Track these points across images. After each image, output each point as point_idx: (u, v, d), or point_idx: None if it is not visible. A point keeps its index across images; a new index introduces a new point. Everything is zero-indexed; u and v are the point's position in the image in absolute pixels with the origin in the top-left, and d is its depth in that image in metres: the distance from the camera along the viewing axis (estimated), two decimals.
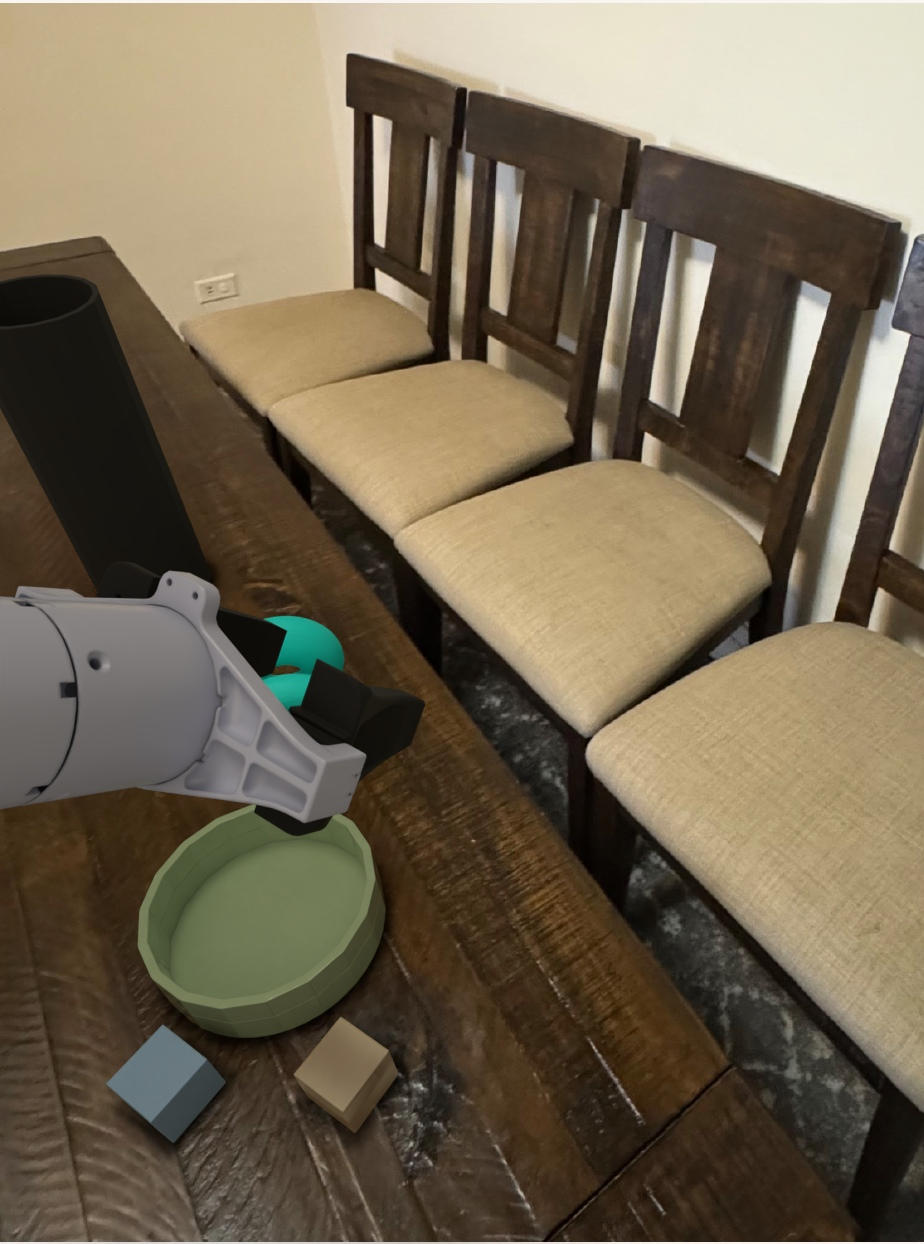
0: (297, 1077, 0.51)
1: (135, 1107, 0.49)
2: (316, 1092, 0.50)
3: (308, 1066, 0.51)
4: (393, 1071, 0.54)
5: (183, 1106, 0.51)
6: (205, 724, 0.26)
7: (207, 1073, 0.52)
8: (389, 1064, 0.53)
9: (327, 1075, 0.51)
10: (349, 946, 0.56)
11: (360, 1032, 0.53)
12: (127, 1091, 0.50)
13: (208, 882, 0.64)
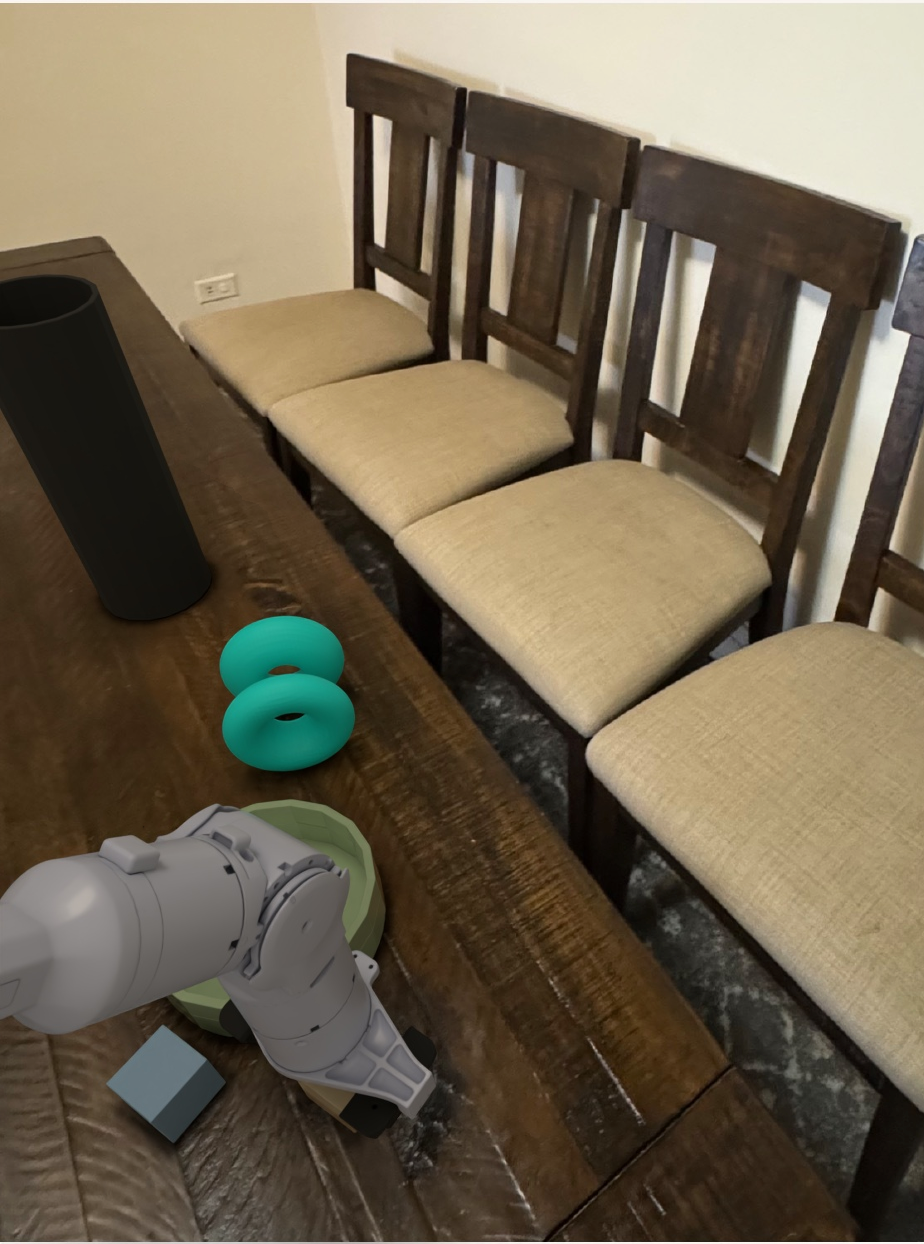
0: None
1: (135, 1107, 0.49)
2: (316, 1092, 0.50)
3: None
4: None
5: (183, 1106, 0.51)
6: (358, 1038, 0.46)
7: (207, 1073, 0.52)
8: None
9: None
10: None
11: None
12: (127, 1091, 0.50)
13: None
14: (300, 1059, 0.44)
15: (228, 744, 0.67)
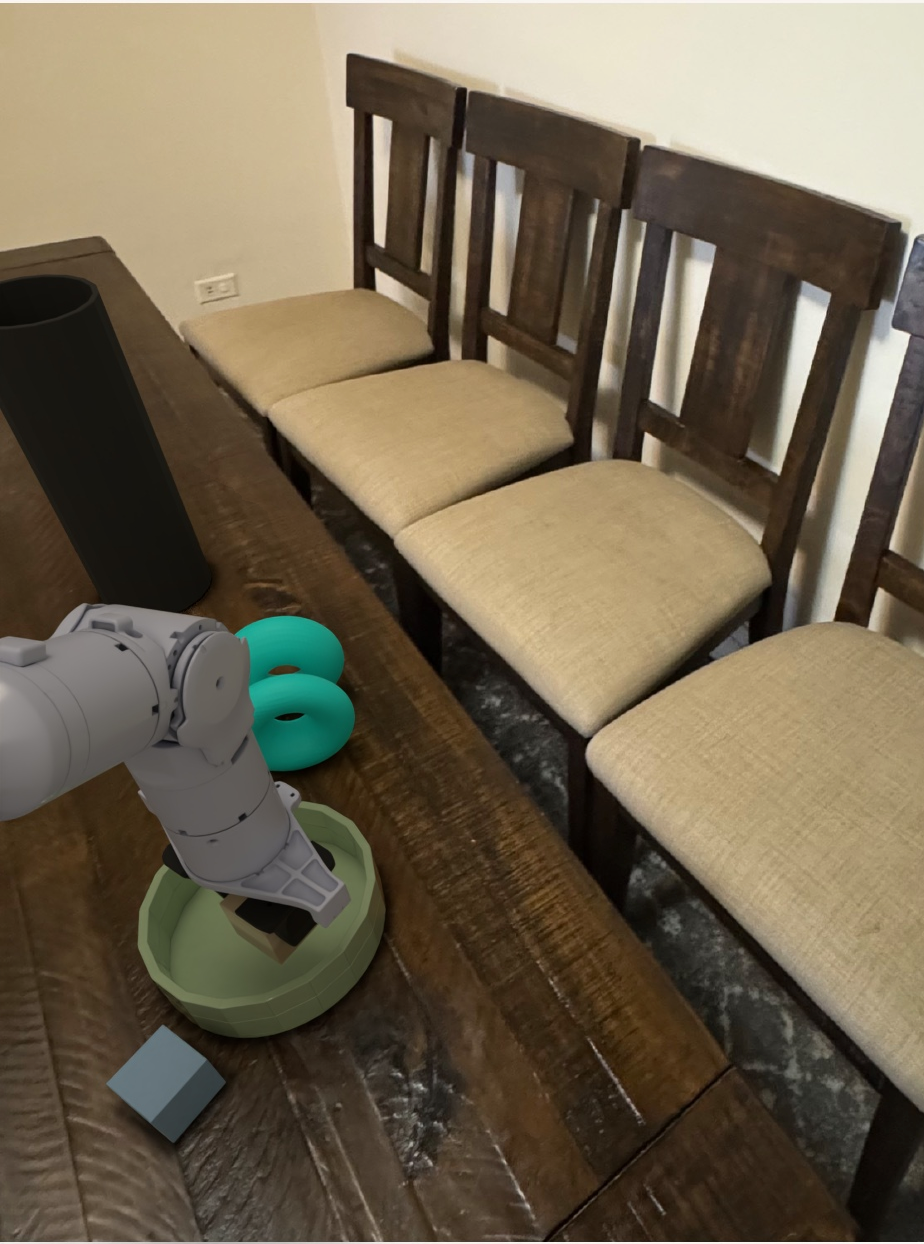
0: (223, 906, 0.52)
1: (135, 1107, 0.49)
2: (240, 919, 0.52)
3: (234, 896, 0.53)
4: None
5: (183, 1106, 0.51)
6: (274, 853, 0.47)
7: (207, 1073, 0.52)
8: None
9: None
10: (349, 946, 0.56)
11: None
12: (127, 1091, 0.50)
13: None
14: (214, 864, 0.45)
15: None
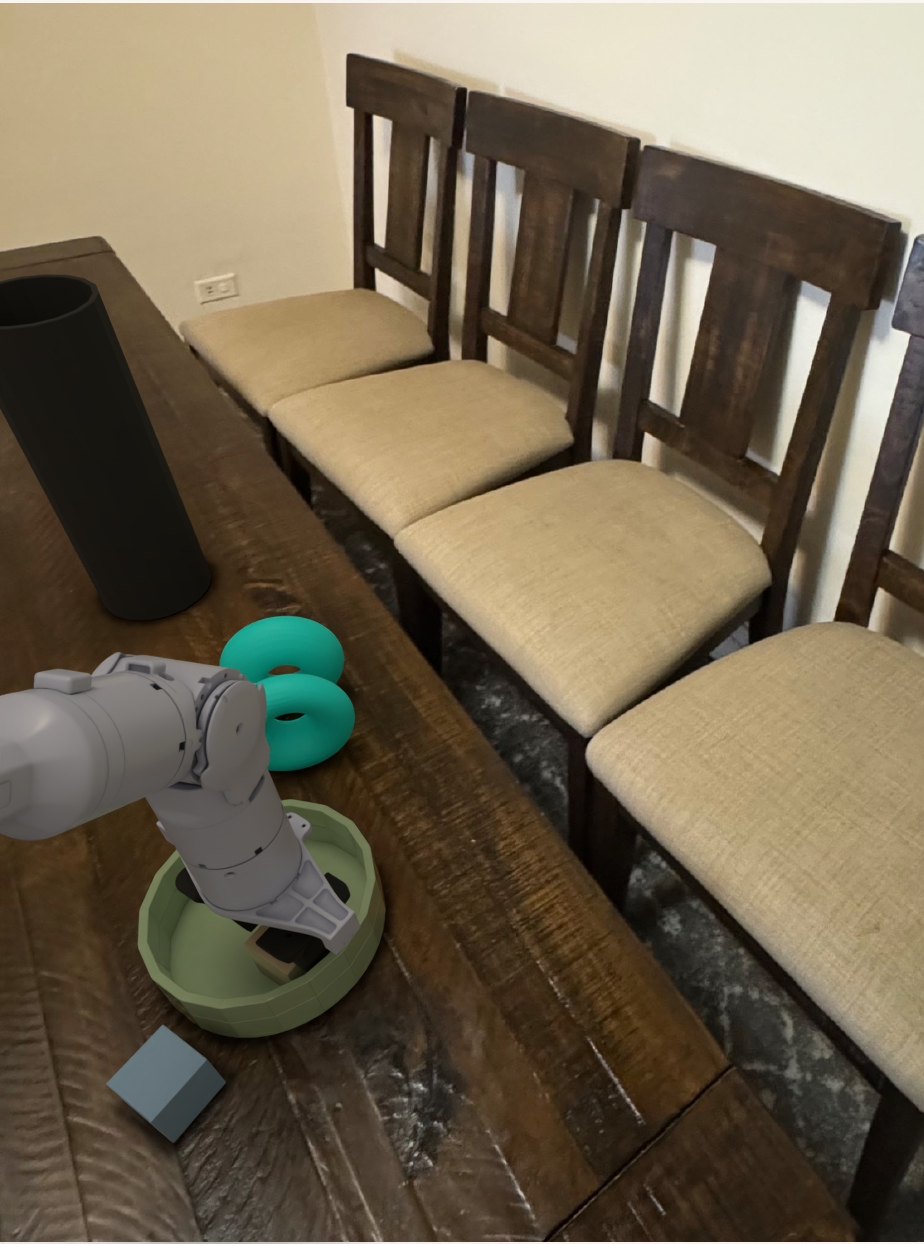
0: (247, 946, 0.56)
1: (135, 1107, 0.49)
2: (264, 959, 0.56)
3: (257, 937, 0.56)
4: None
5: (183, 1106, 0.51)
6: (287, 883, 0.50)
7: (207, 1073, 0.52)
8: None
9: None
10: (349, 946, 0.56)
11: None
12: (127, 1091, 0.50)
13: None
14: (231, 894, 0.47)
15: None
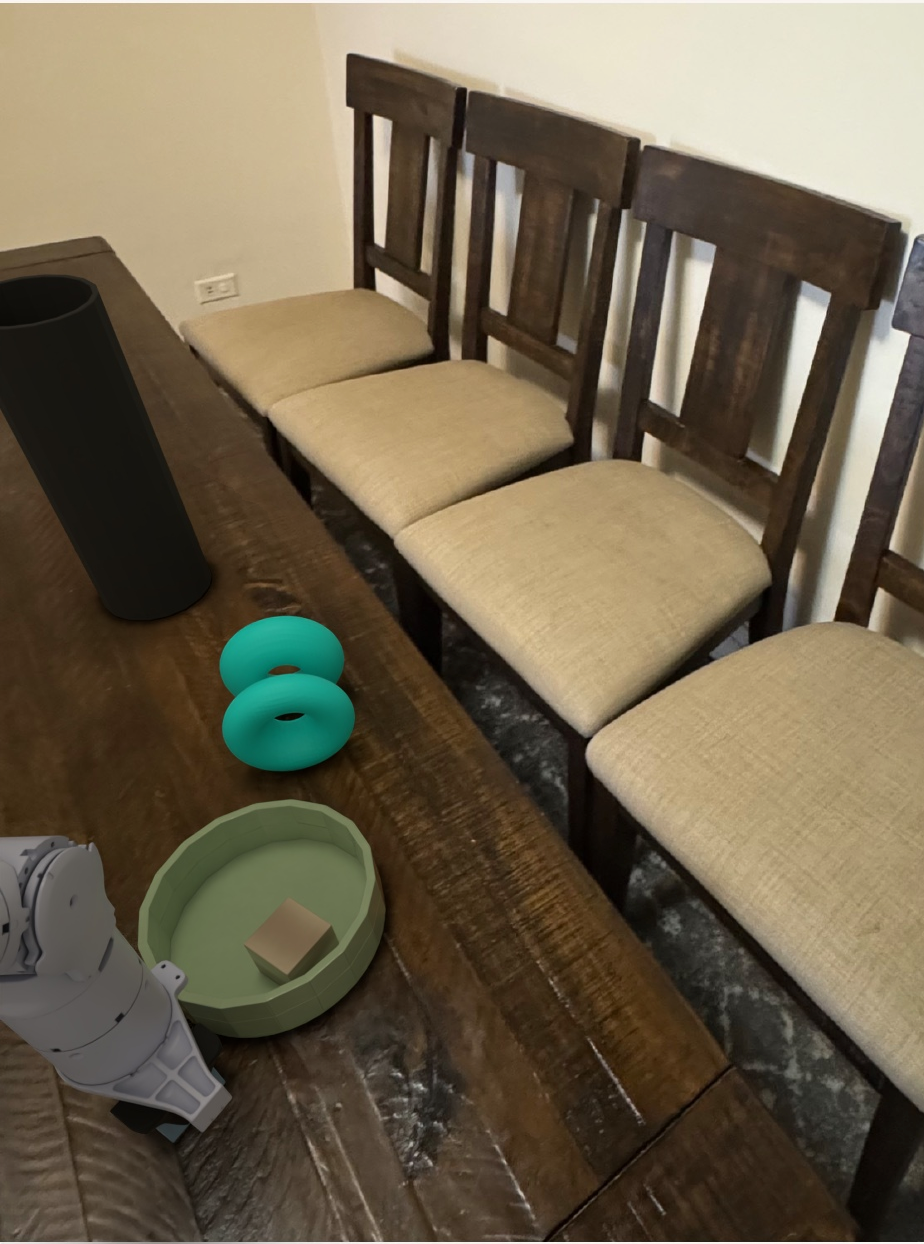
0: (247, 946, 0.56)
1: None
2: (264, 959, 0.56)
3: (257, 937, 0.56)
4: None
5: None
6: (151, 1050, 0.45)
7: None
8: (332, 939, 0.58)
9: (274, 944, 0.56)
10: (349, 946, 0.56)
11: (306, 909, 0.58)
12: None
13: (208, 882, 0.64)
14: (82, 1072, 0.43)
15: (228, 744, 0.67)
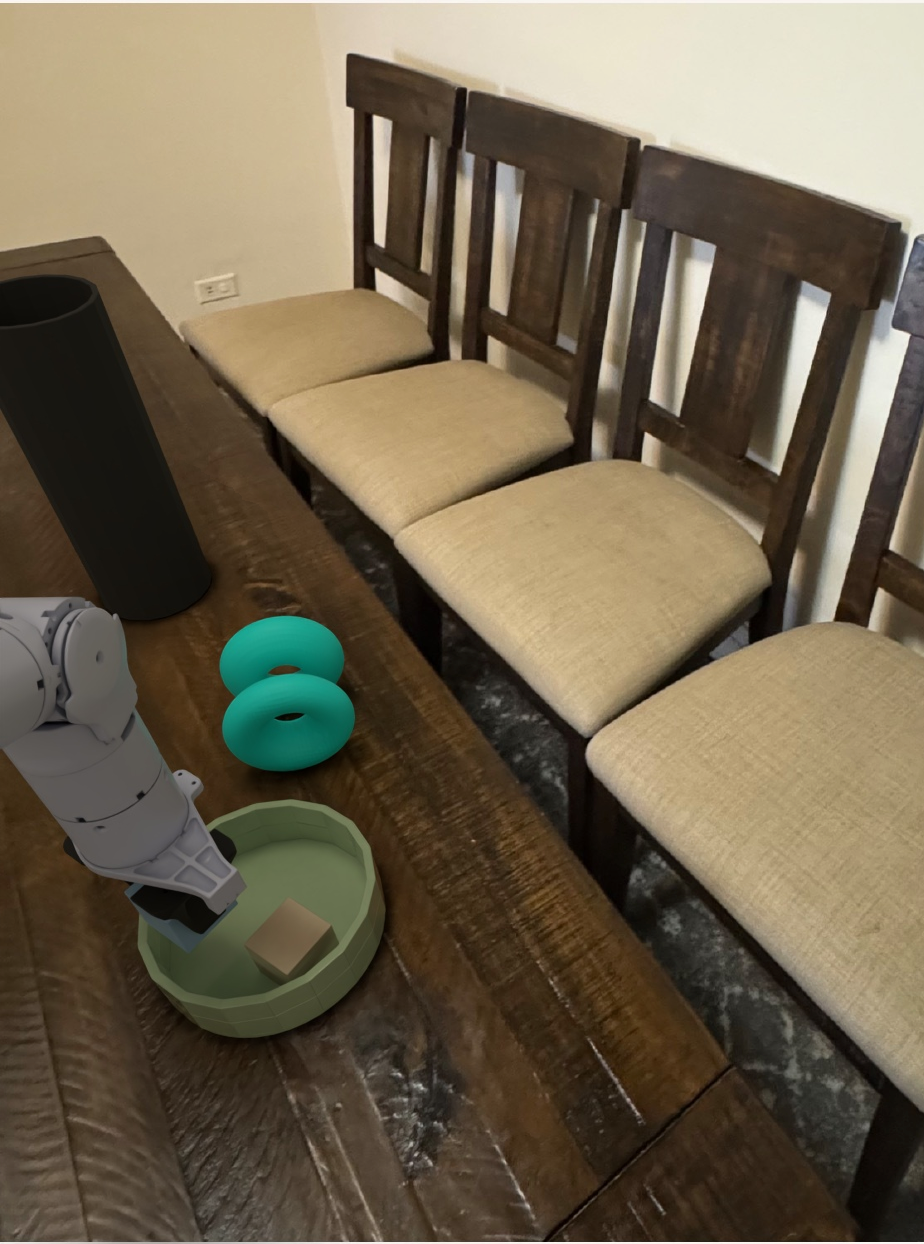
0: (247, 946, 0.56)
1: None
2: (264, 959, 0.56)
3: (257, 937, 0.56)
4: None
5: None
6: (170, 840, 0.48)
7: None
8: (332, 939, 0.58)
9: (274, 944, 0.56)
10: (349, 946, 0.56)
11: (306, 909, 0.58)
12: None
13: None
14: (105, 850, 0.45)
15: (228, 744, 0.67)
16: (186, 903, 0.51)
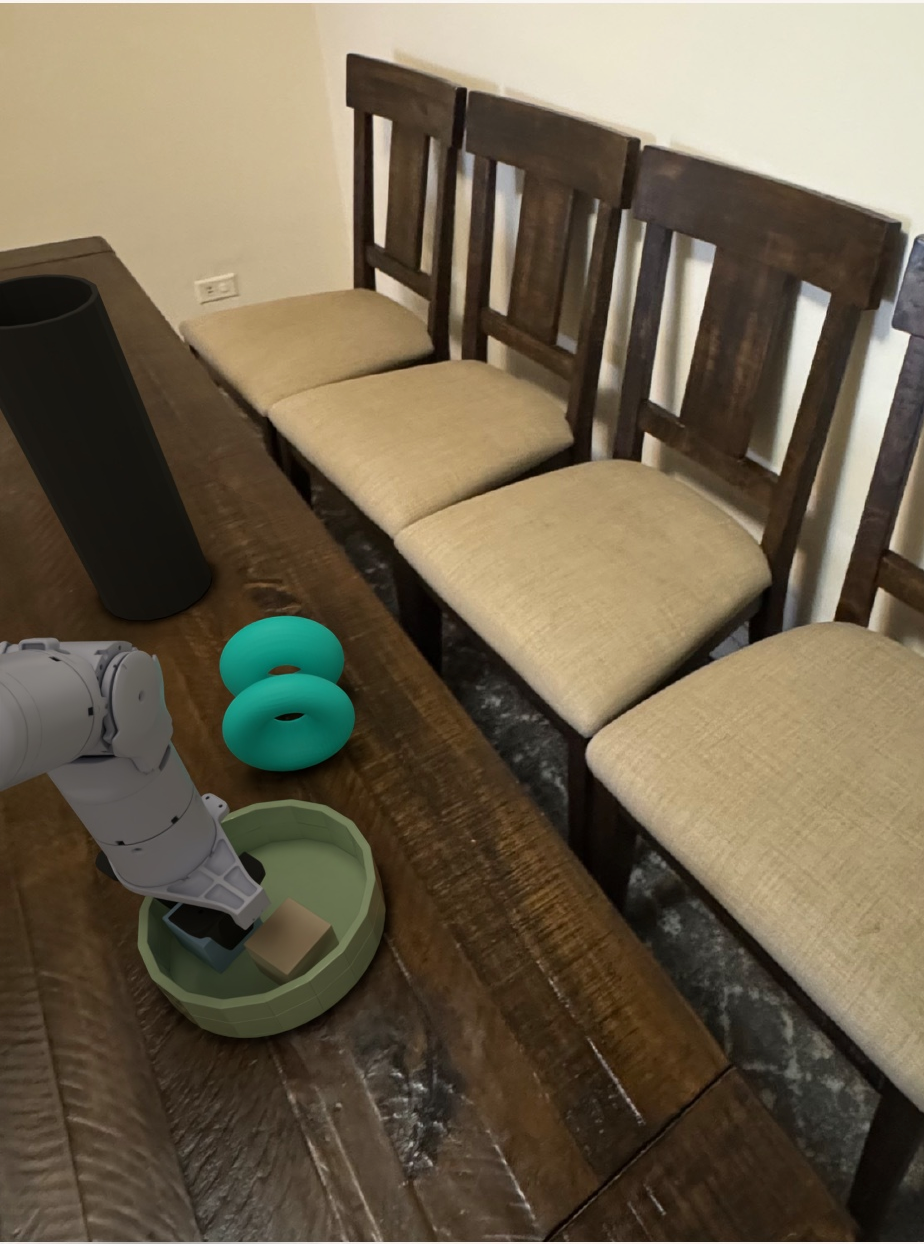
0: (247, 946, 0.56)
1: (189, 936, 0.56)
2: (264, 959, 0.56)
3: (257, 937, 0.56)
4: None
5: None
6: (200, 860, 0.51)
7: None
8: (332, 939, 0.58)
9: (274, 944, 0.56)
10: (349, 946, 0.56)
11: (306, 909, 0.58)
12: None
13: None
14: (141, 870, 0.49)
15: (228, 744, 0.67)
16: (218, 922, 0.54)
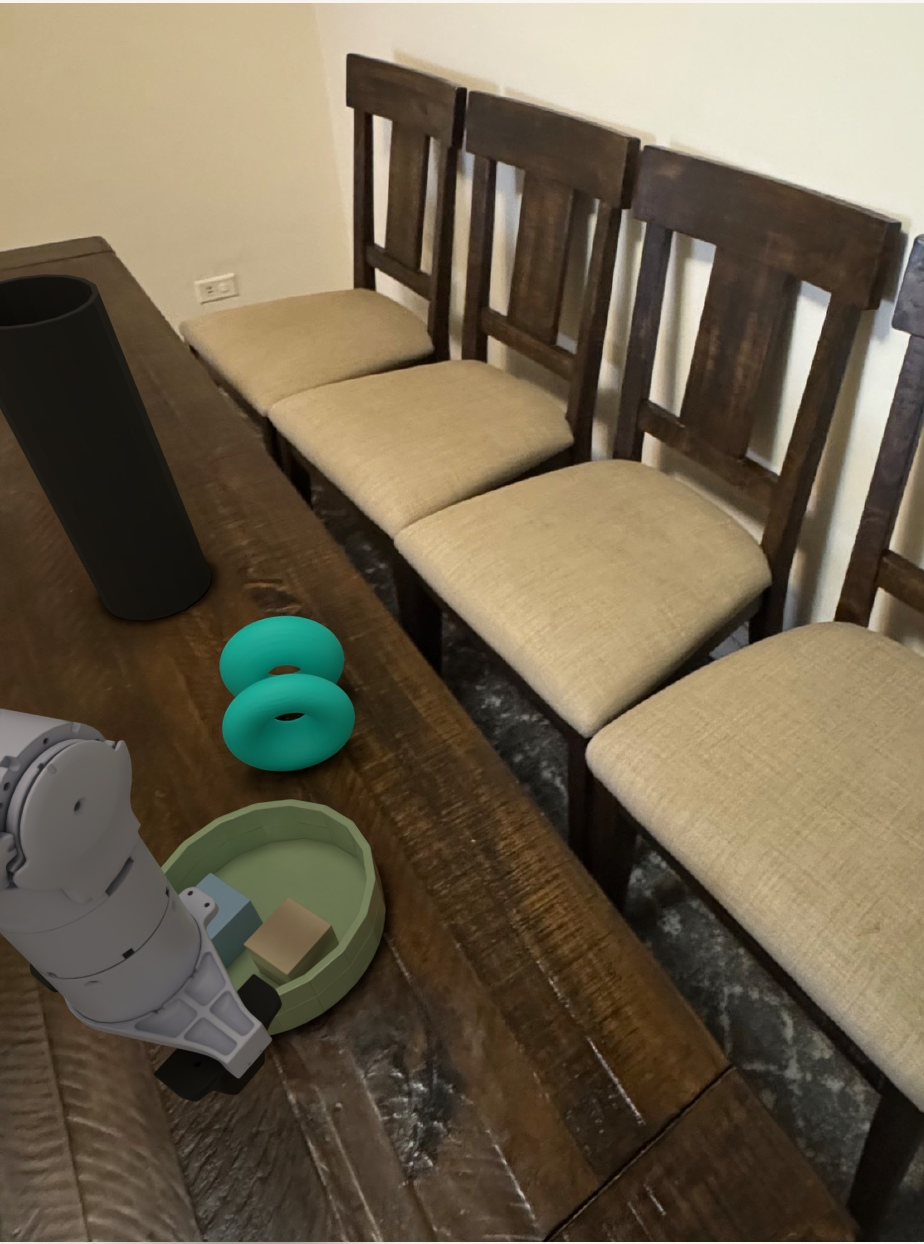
0: (247, 946, 0.56)
1: None
2: (264, 959, 0.56)
3: (257, 937, 0.56)
4: None
5: (230, 940, 0.58)
6: (178, 984, 0.39)
7: (250, 913, 0.59)
8: (332, 939, 0.58)
9: (274, 944, 0.56)
10: (349, 946, 0.56)
11: (306, 909, 0.58)
12: None
13: None
14: (99, 1005, 0.37)
15: (228, 744, 0.67)
16: None
